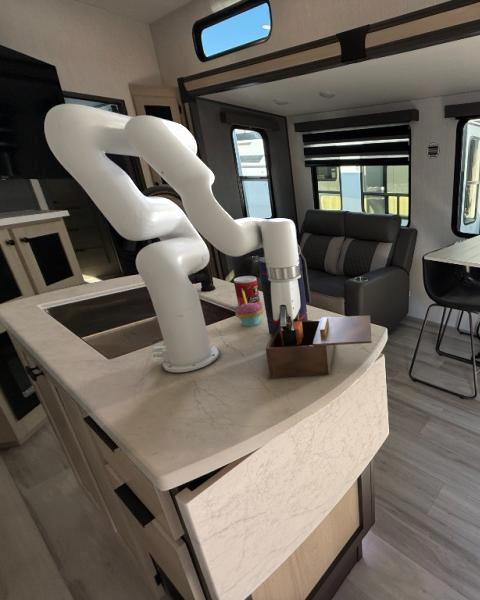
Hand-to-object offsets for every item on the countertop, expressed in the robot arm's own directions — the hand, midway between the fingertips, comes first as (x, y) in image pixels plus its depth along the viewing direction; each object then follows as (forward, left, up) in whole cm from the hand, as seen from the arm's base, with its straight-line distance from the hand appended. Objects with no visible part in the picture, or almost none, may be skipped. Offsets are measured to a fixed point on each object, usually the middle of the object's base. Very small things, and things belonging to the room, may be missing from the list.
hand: (292, 338), depth 83 cm
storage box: (+3, 0, -6) cm, 7 cm away
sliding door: (+13, 0, +2) cm, 14 cm away
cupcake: (-19, +26, -7) cm, 33 cm away
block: (0, 0, -1) cm, 1 cm away
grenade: (-4, +18, -7) cm, 20 cm away
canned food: (-25, +43, -7) cm, 50 cm away
